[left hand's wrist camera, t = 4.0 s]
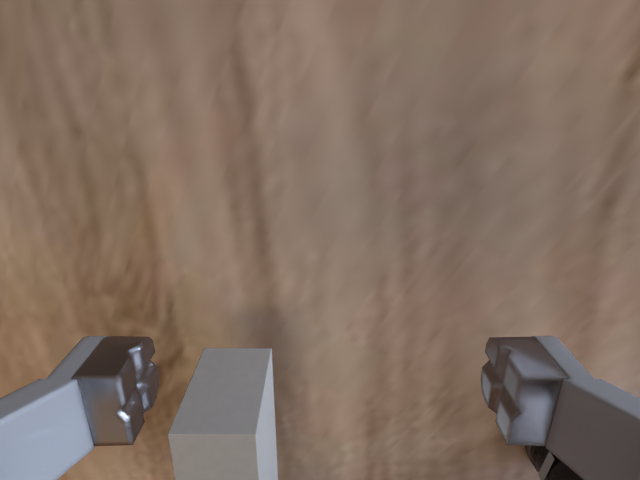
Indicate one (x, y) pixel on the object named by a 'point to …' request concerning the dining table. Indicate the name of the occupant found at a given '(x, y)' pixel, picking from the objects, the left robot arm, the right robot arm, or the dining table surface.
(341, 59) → the dining table surface
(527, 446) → the right robot arm
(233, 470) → the bar
